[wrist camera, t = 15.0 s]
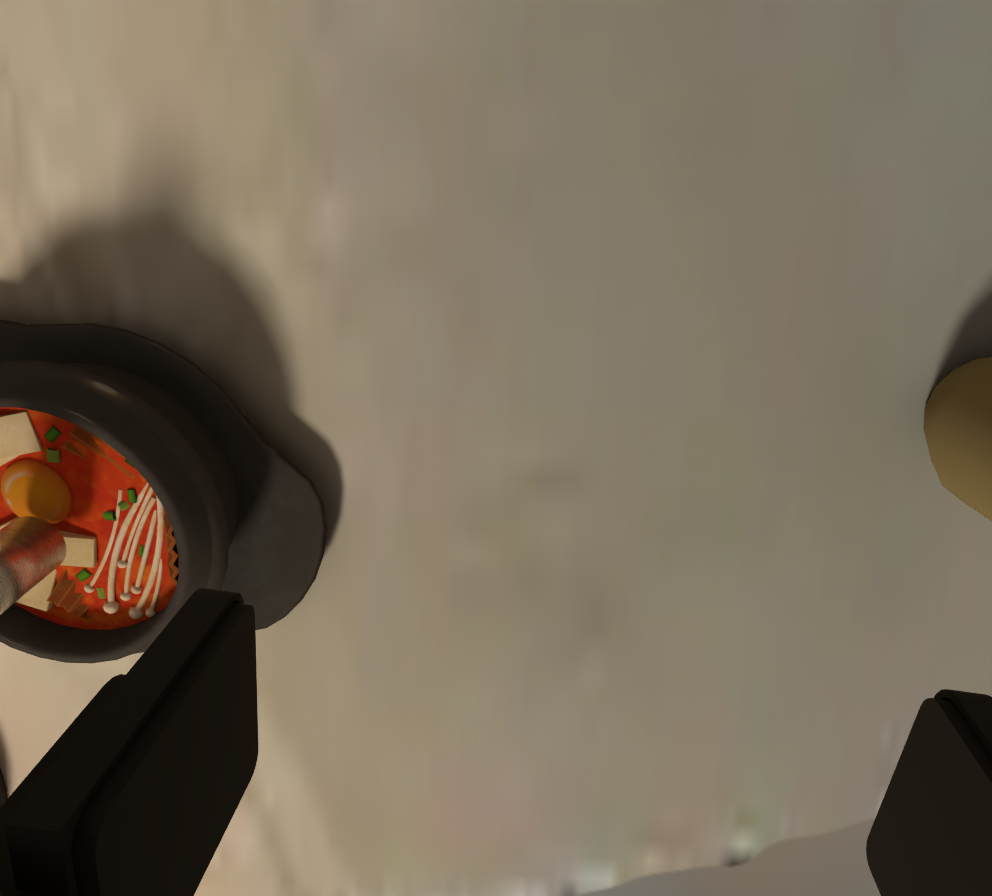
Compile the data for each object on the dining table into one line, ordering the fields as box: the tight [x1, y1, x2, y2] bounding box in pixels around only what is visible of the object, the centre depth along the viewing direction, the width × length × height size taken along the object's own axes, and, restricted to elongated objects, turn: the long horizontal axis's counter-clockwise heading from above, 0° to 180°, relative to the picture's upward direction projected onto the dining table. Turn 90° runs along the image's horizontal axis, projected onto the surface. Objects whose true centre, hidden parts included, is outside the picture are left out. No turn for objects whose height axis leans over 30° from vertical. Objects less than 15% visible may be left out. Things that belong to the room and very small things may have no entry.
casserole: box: [0, 320, 327, 663], centre depth 41 cm, size 25×19×8 cm
